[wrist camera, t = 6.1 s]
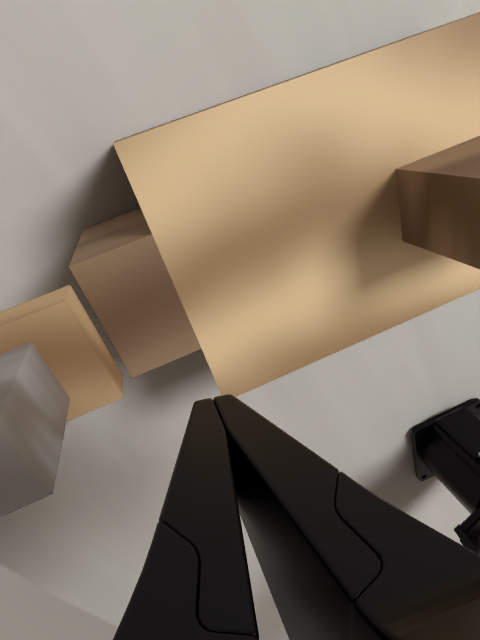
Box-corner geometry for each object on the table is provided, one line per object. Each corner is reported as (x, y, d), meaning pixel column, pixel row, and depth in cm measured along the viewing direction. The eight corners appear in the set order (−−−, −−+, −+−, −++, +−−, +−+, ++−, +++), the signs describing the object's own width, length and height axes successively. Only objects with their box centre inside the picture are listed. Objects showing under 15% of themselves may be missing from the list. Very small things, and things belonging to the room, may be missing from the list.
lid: (507, 262, 20) (617, 297, 15) (219, 388, 18) (251, 469, 14) (521, -2, 14) (695, -63, 10) (113, 143, 13) (110, 146, 8)
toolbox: (437, 239, 24) (525, 268, 19) (151, 360, 22) (161, 429, 17) (427, 30, 19) (546, -11, 13) (49, 164, 17) (17, 177, 12)
